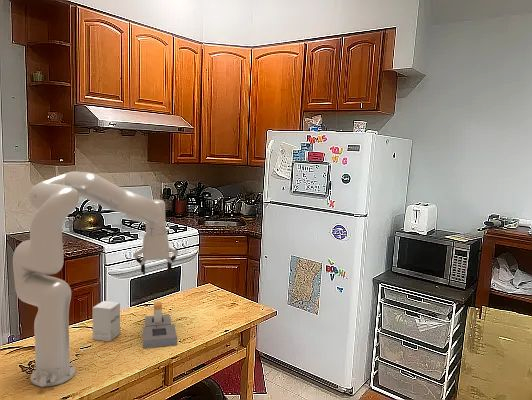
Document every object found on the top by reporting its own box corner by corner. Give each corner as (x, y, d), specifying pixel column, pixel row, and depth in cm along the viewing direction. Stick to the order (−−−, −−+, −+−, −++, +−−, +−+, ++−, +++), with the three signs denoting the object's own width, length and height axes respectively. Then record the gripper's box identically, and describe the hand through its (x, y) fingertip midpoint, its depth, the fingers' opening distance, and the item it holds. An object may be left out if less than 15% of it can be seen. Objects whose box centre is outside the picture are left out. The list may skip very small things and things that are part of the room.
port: (176, 345, 159) (176, 337, 159) (142, 348, 156) (142, 340, 155) (174, 331, 170) (174, 324, 170) (142, 334, 167) (142, 326, 167)
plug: (161, 326, 175) (161, 304, 174) (154, 327, 174) (154, 305, 173) (161, 322, 179) (161, 301, 178) (153, 323, 178) (153, 302, 177)
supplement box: (110, 341, 160) (109, 309, 159) (92, 339, 162) (91, 306, 160) (121, 333, 167) (120, 302, 166) (103, 331, 169) (103, 300, 167)
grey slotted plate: (171, 328, 173) (171, 323, 173) (145, 330, 170) (145, 326, 170) (169, 318, 183) (169, 314, 182) (144, 320, 180) (144, 316, 179)
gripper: (177, 228, 177) (177, 268, 180) (132, 230, 172) (133, 271, 175) (178, 232, 170) (179, 274, 173) (132, 234, 165) (133, 277, 167)
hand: (156, 272), depth 174 cm, fingers open, 9 cm apart
